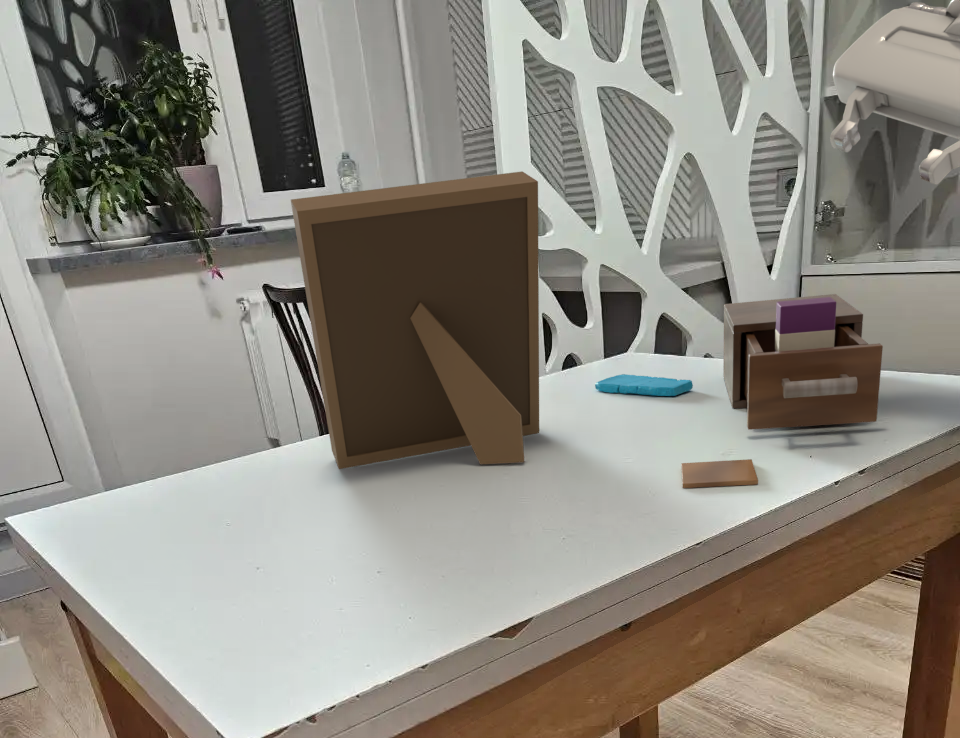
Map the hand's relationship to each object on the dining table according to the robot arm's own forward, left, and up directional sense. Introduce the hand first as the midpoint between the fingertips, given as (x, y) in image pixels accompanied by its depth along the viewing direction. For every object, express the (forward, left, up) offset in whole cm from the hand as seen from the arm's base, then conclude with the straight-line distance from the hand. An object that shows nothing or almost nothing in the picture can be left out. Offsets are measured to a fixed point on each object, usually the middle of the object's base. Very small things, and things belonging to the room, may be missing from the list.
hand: (880, 160), depth 76 cm
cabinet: (+5, -19, -22) cm, 30 cm away
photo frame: (+40, +2, -23) cm, 46 cm away
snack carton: (+5, -5, -20) cm, 22 cm away
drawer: (+5, -4, -22) cm, 22 cm away
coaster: (+14, +13, -22) cm, 29 cm away
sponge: (+21, -23, -23) cm, 38 cm away
